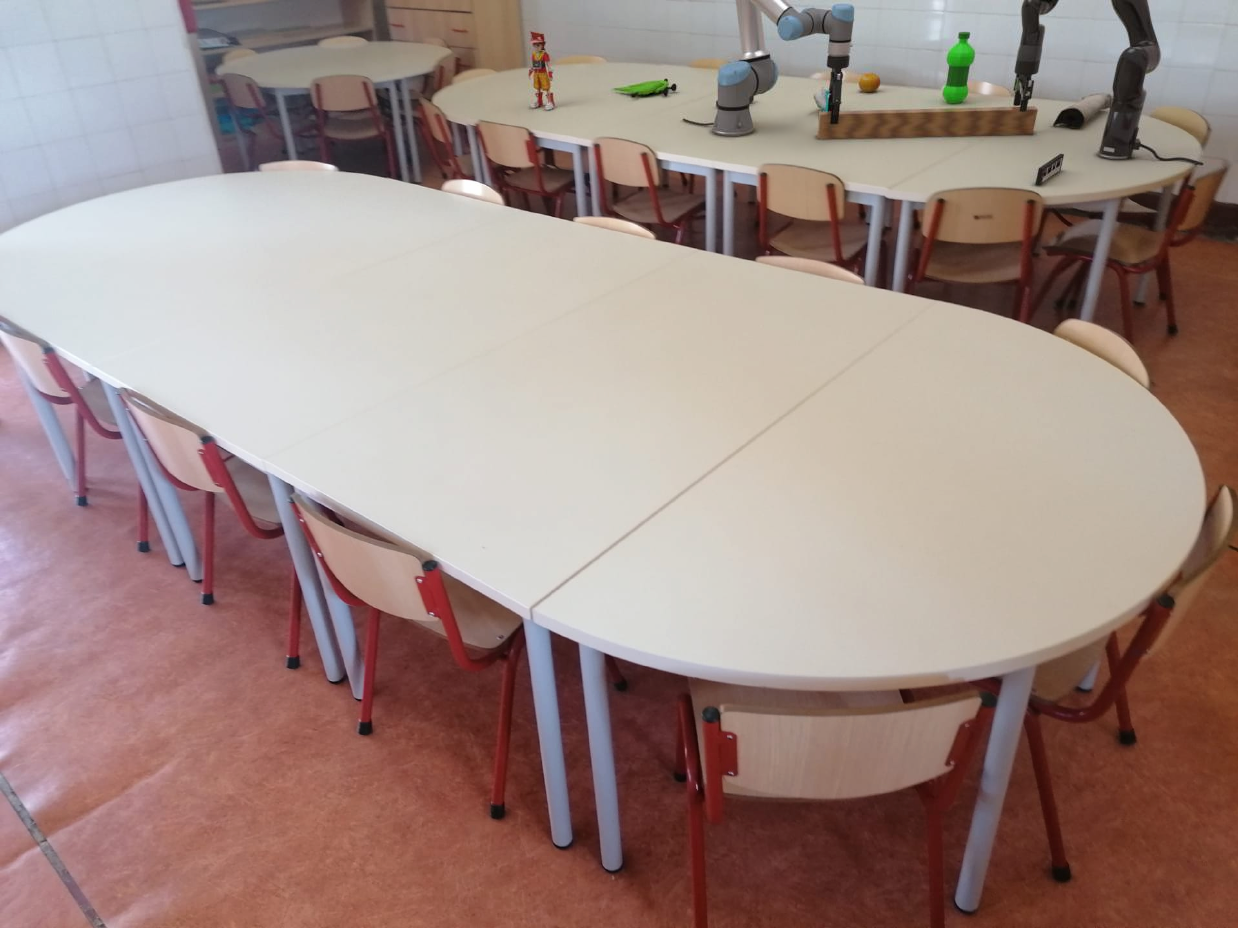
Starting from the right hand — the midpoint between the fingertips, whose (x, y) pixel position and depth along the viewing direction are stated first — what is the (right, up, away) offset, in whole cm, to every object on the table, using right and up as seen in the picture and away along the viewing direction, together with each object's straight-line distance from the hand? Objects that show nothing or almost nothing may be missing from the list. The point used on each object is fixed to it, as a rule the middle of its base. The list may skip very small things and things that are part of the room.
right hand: (1019, 108), depth 311 cm
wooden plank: (-31, -6, +9) cm, 32 cm away
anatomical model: (-58, +14, +40) cm, 71 cm away
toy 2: (-130, +41, +86) cm, 161 cm away
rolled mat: (+30, +2, +15) cm, 33 cm away
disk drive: (-91, +25, +58) cm, 111 cm away
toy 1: (-172, +29, +72) cm, 189 cm away
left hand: (-63, 0, +9) cm, 64 cm away
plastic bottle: (-7, +20, +44) cm, 48 cm away
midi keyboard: (-8, -36, -36) cm, 52 cm away
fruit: (-34, +33, +65) cm, 81 cm away
